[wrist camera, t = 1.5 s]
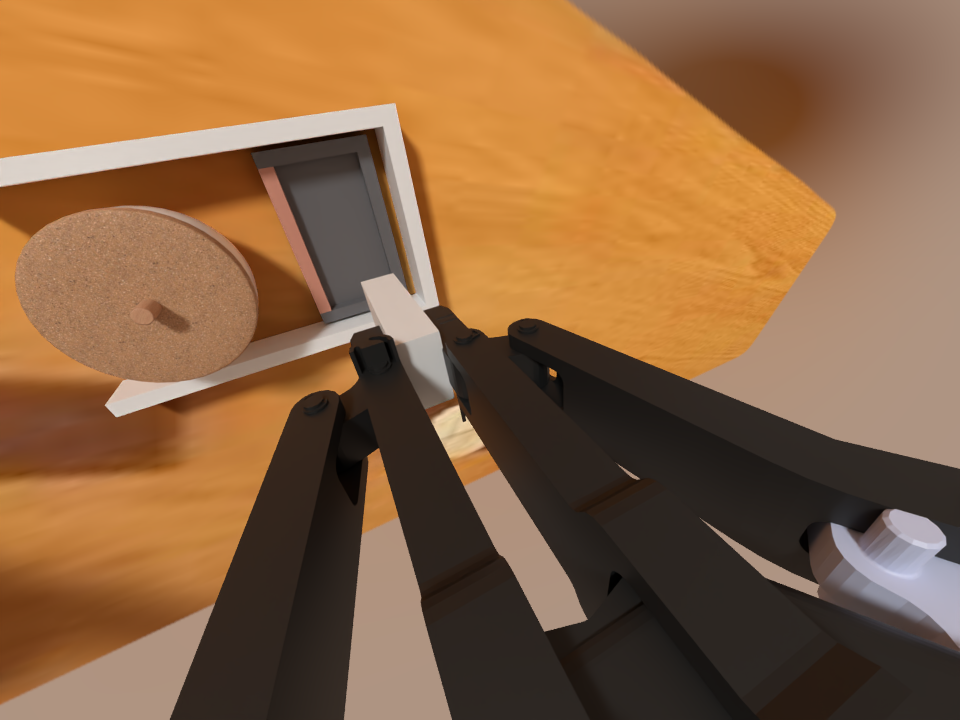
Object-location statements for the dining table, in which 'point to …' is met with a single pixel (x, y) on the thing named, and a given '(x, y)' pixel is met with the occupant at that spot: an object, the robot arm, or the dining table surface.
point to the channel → (237, 138)
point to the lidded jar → (139, 293)
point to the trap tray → (332, 219)
